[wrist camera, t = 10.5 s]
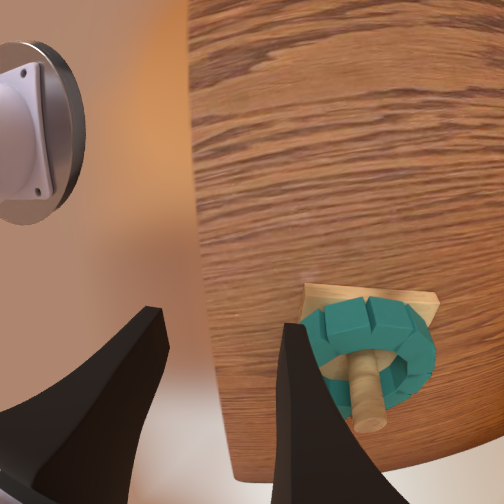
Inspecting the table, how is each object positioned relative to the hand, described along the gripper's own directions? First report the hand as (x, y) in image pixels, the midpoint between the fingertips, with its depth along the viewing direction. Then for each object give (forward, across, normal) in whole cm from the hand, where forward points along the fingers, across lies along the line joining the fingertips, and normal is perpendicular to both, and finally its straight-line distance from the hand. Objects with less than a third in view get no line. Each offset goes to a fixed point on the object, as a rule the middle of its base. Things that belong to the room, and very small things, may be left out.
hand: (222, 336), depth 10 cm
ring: (+7, -8, +8) cm, 13 cm away
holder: (+8, -8, +8) cm, 14 cm away
